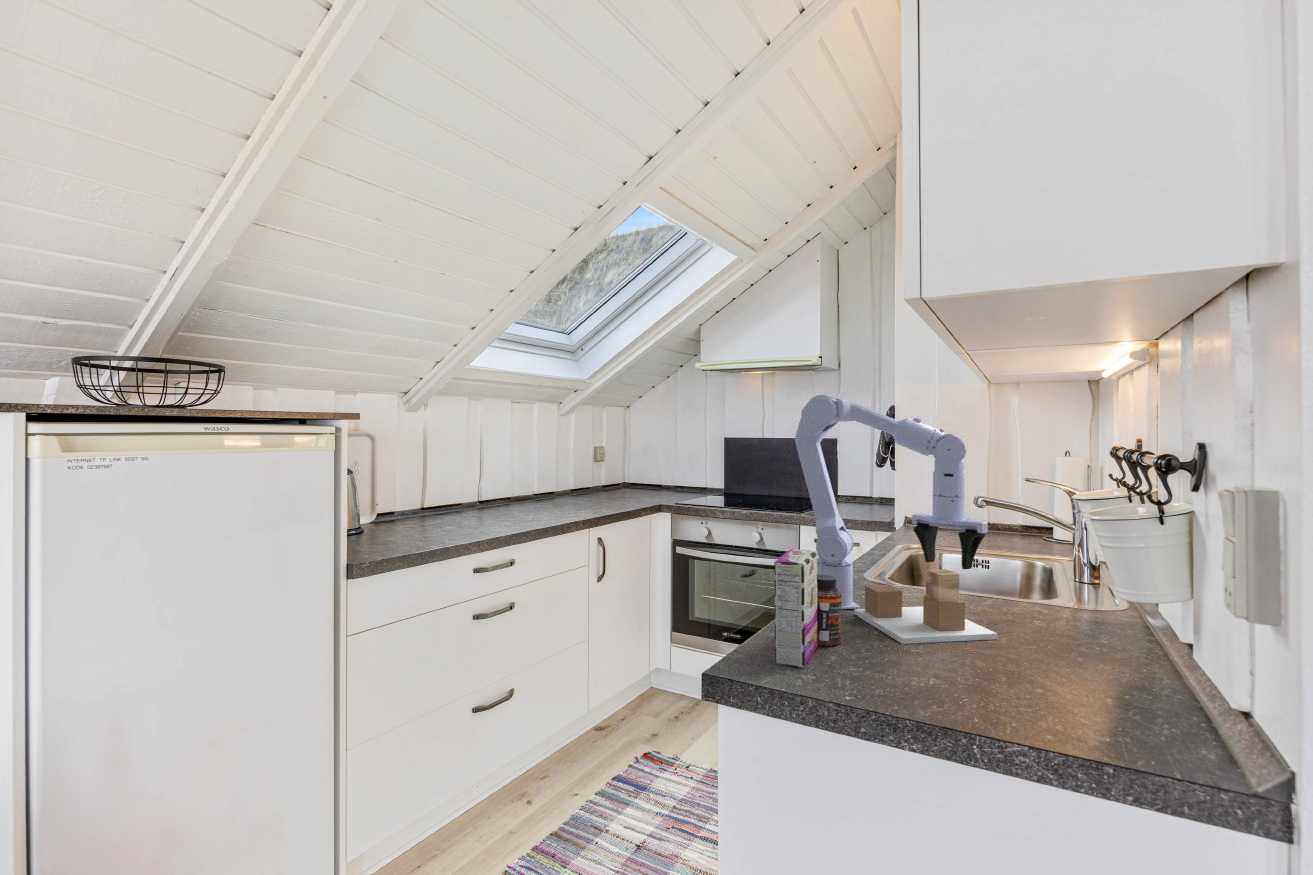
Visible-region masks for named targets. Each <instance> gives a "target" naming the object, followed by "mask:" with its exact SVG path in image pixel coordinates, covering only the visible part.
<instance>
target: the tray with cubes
mask: <svg viewBox="0 0 1313 875" xmlns="http://www.w3.org/2000/svg"><path fill="white" fill-rule="evenodd" d="M853 610H854V612H853V613H854V615H855V616H856V615H857V616H856V617H858V618H860V619H862V620H863V621H864V622H866V623H867V624H869V625H871V626H872V627H874V628H876V629H878V630H879V631H881V633H884V634H885V635H887V636H888V637H890V638H892V639H894V640H896V642H899V643H900V644H901V645H905V644H907V645H908V644H928V643H943V642H944V643H948V642H964V641H965V642H967V641H969V642H970V641H985V640H987V641H988V640H998V633H997V632H995V631H993V630H991V629H988V628H986V627H984V626H982V625H980V624H977V623H975V622H973V621H971V620H969V619H967V618H966V602H965V601H963V600H960V599H959V602H944V603H938V602H936V601H934V600H932V599H929V598H927V597H926V595H923V604H922V606H903V591H902V590H900V589H898V588H896V587H894V586H892V585H889V584H882V585H881V584H877V585H876V584H875V585H864V608H858V609H853Z"/></svg>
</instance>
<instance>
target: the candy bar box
mask: <svg viewBox="0 0 1313 875" xmlns="http://www.w3.org/2000/svg"><path fill="white" fill-rule="evenodd" d="M817 558H818V554H817V551H816V550H807V549H798V548H795V549H794V548H793V549H792V548H791V549H789V550H787V552H785V553H783V555H781V556H780V557H779V558H777V559H776V560H775V561H774V567H773V568H774V646H775V647H774V652H775V654H774V655H775V656H774V660H775V661H774V662H775V664H777V665H781V666H787V667H793V668H800V669H805V668H806V666H807V665H808V663H809V661H810V660H811V659H812V657H813V655H814V653H815V652H816V650H817V649H818V646H819V645H818V614H817V613H818V611H817V608H818V605H817Z"/></svg>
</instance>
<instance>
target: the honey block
mask: <svg viewBox="0 0 1313 875" xmlns="http://www.w3.org/2000/svg"><path fill="white" fill-rule="evenodd" d="M925 596H926V597H927V598H929V599H932V600H934V601H936V602H938V603H944V602H959V600H960V573H957V572H955V571H952V570H950V569H946V568H944V569H926V570H925Z"/></svg>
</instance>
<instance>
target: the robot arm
mask: <svg viewBox="0 0 1313 875" xmlns="http://www.w3.org/2000/svg"><path fill="white" fill-rule="evenodd" d="M839 422H843V423H845V422H858V423H861V424H863V425H866V426H868V427H871V428H873V429H876V430H878V431H882V432H884V433H887V434H889V435H892V436H893V439H894V442H895V443H896V445H898V446H901V447H904V448H906V449H908V450H911V451H913V452H916V453H919V454H920V455H923V456H925V457H928V456H933V458H934V471H933V472H932V514H920V513H919V514H918V513H914V514H912V515H911V518H912V519H911V524H912V525H916V526H914V527H913V532H914V533H915V535H916V537H917V539H918V541H919V543H920V546H921V548H922V553H923V556H924V561H925V563H933V562H935V560H936V542H937V536H938V531H939V528H945V529H952V530H958V531H960V532H958V537H959V542H960V547H961V568H962V570H970V569H972V567H973V564H974V563H973V562H974V560H975V556H976V553H977V551H978V548H979V546H981V543H982V541H983V540H984V539H985V536H986V533H988V532H989V531H988V530H989V529H988V528H989V526H988V524H989V522H987V521H980V520H975V519H970V518H965V505H966V504H965V501H966V500H965V498H966V494H965V492H966V491H965V490H966V478H965V477H966V473H965V471H964V470H965V462H964V458H966V454H967V450H966V446H965V443H964V442H963V440H962V439H961V438H960V437H958V436H956V435H954V434H953V433H945V432H946V429H945V428H943V427H940V428H936V427H933V426H931V425H928V424H925V423H923V422H922V419H920V418H918V417H914V419H913V418H911V417H907V418H906V417H905V418H903V419H901V420H897V419H895V418H892V417H890V416H888V415H885V414H883V413H880V412H878V411H876V410H874V409H871V408H869V407H868V406H867V407H866V406H865V405H862V404H860V403H857V402H853V401H849V400H845V399H840V398H836V397H832V396H828V395H827V394H826V395H825V394H818V395H815V396H813V397H812V398H810V399H809V400H808V401H807V403H806V404H805V405H804V406H803V408H802V410H801V415H800V419H799V424H798V426H797V430H796V433H795V436H794V442H795V446H796V450H797V455H798V458H799V462H800V465H801V469H802V472H803V477H804V480H805V485H806V488H807V490H808V495H809V498H810V499H809V500H810V502H811V503H810V504H811V506H812V509H813V515H814V518H815V532H816V538H817V539H816V540H817V541H816V545H815V551H817V575H829V576H833V577H835V578H836V588H837V589H838V590H839V591H840V592H841V601H842V602H841V610H852V609H853V610H854V609H861V605H860V604H858V603H856V602H854V600H853V598H854V597H853V592H854V591H853V590H854V589H853V588H854V587H853V585H854V582H853V578H854V577H853V576H854V575H853V572H854V571H853V570H854V560H852V558H851V557H850V555H849V554H850V553H851V552H852V550H853V549H854V539H853V537H852V535H851V533H850V532H849V531H848V530H847V528H846V525H845V522H844V520H843V518H842V517H841V515H840V512H839V509H838V505H837V501H836V498H835V494H834V490H833V488H832V487H833V486H832V483H831V479H830V476H829V472H828V469H827V465H826V461H825V457H824V453H823V450H822V446H821V442H822V441H823V439H824V437H825V436H826V434H827V433H828V431H829V430H831V429H832V428H833V427H835V425H837V424H838V423H839Z"/></svg>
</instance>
